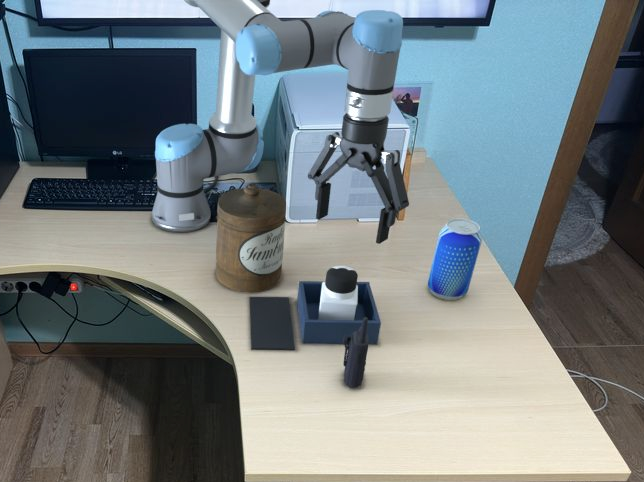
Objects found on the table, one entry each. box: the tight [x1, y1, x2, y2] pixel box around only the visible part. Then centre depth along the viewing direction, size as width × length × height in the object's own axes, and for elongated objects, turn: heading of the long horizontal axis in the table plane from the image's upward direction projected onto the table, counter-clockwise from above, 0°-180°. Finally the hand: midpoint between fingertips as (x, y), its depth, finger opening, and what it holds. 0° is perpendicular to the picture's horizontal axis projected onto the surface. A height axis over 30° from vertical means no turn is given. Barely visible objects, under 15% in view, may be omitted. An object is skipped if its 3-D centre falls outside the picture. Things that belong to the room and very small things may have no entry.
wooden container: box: [215, 183, 287, 293], centre depth 146 cm, size 15×15×22 cm
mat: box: [249, 296, 296, 351], centre depth 138 cm, size 18×8×1 cm, turn 177°
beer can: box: [427, 217, 483, 301], centre depth 142 cm, size 8×8×16 cm
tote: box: [296, 280, 382, 345], centre depth 137 cm, size 15×15×5 cm
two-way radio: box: [342, 317, 370, 388], centre depth 119 cm, size 6×4×15 cm
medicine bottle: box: [318, 265, 359, 320], centre depth 134 cm, size 7×7×12 cm
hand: (350, 228), depth 126 cm, fingers open, 13 cm apart
